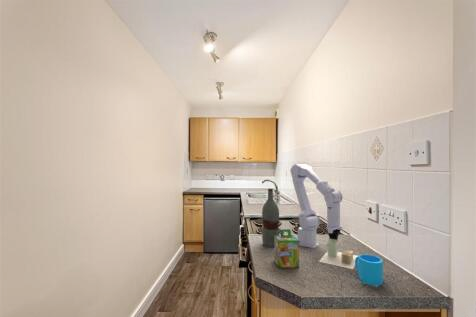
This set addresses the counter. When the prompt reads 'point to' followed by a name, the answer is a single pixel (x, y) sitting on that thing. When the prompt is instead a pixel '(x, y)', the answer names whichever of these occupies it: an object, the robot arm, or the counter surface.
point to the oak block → (347, 257)
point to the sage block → (332, 247)
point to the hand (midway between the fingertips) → (333, 244)
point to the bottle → (270, 220)
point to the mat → (337, 260)
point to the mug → (370, 269)
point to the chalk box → (286, 250)
